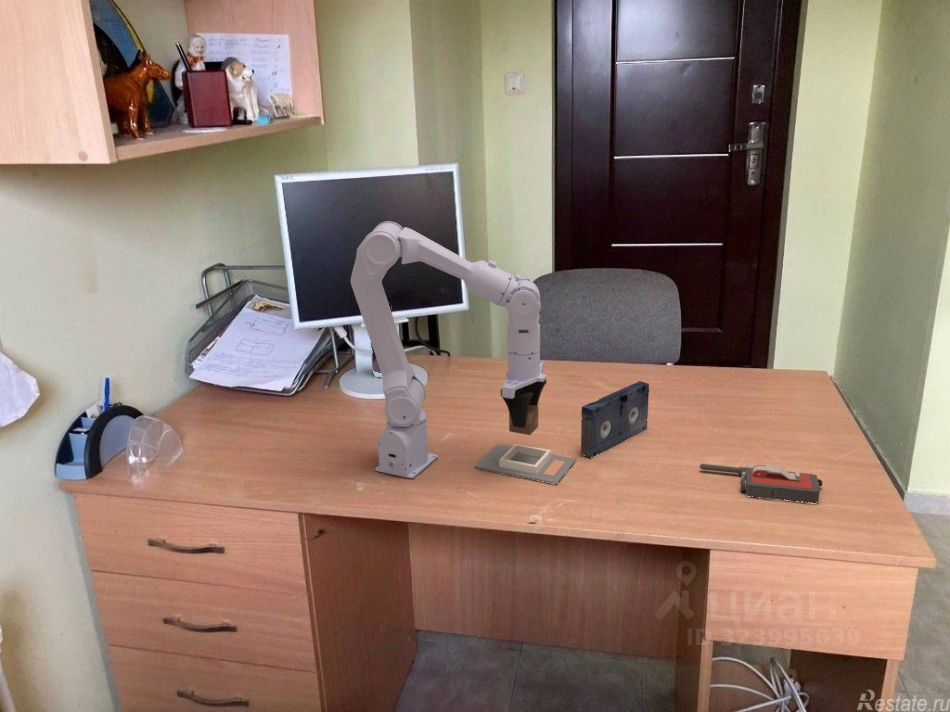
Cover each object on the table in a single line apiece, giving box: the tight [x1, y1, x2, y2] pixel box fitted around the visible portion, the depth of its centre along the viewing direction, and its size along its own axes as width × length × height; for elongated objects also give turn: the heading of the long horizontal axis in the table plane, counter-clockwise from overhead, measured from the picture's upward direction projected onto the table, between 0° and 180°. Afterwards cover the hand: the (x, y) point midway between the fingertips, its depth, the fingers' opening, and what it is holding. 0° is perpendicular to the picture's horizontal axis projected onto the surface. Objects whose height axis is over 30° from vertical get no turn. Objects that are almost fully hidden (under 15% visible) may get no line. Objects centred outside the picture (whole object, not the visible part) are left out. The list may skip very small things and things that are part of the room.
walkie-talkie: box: [699, 463, 823, 503], centre depth 133 cm, size 9×4×20 cm
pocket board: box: [473, 443, 577, 484], centre depth 142 cm, size 10×16×2 cm, turn 63°
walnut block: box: [508, 405, 539, 436], centre depth 140 cm, size 4×4×4 cm
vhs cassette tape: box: [580, 380, 650, 459], centre depth 150 cm, size 18×3×10 cm, turn 132°
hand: (523, 421), depth 141 cm, fingers closed on walnut block, 4 cm apart
